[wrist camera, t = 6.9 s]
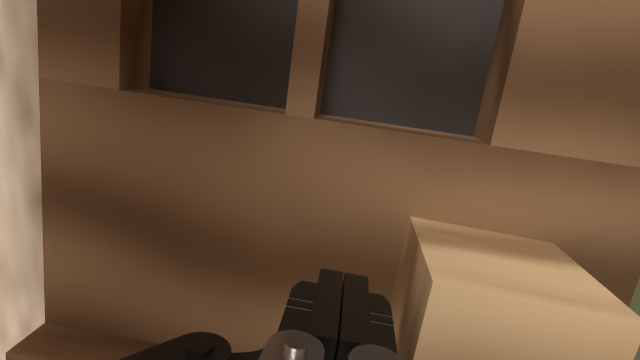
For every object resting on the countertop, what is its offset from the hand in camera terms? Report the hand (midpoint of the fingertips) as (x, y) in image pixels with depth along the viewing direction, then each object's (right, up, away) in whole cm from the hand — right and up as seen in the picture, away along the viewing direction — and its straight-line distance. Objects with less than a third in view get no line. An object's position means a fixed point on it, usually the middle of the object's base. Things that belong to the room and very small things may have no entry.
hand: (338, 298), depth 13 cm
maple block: (+5, 0, +2) cm, 5 cm away
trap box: (0, +4, +4) cm, 6 cm away
